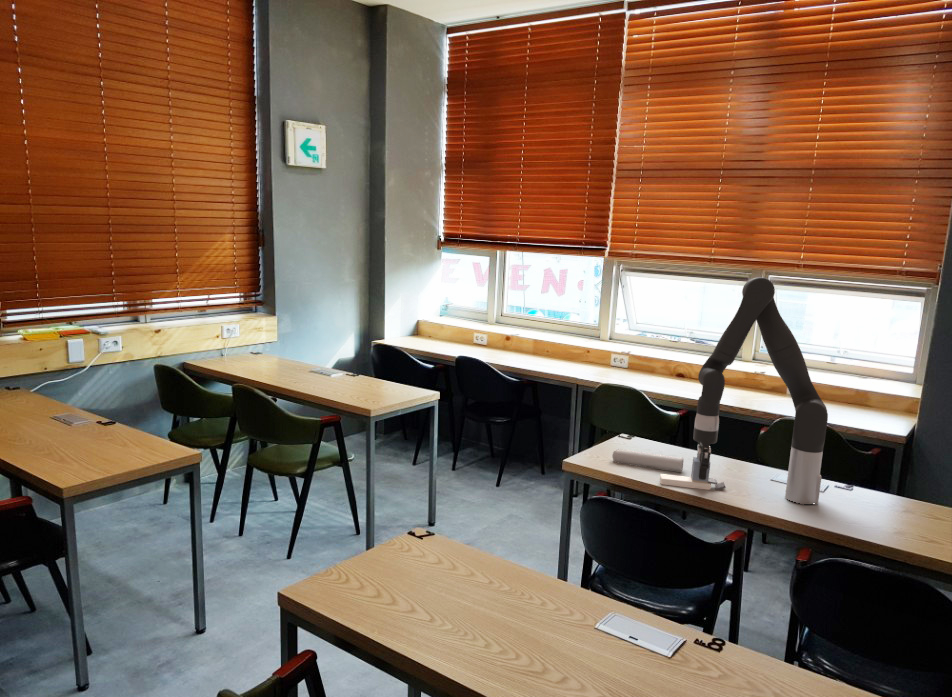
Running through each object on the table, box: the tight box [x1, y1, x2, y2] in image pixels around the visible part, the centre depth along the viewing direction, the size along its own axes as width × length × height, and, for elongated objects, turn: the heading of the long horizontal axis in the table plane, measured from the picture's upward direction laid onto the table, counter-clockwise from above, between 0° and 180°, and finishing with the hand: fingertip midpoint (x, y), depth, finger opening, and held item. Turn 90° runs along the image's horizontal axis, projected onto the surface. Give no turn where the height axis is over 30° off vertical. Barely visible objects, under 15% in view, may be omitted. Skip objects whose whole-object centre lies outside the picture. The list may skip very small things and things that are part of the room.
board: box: [659, 473, 712, 491], centre depth 240 cm, size 16×5×2 cm, turn 78°
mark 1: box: [708, 477, 718, 485], centre depth 238 cm, size 3×4×1 cm
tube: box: [612, 448, 684, 473], centre depth 258 cm, size 5×5×25 cm
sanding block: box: [690, 456, 711, 484], centre depth 238 cm, size 5×5×7 cm
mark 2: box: [714, 481, 727, 491], centre depth 238 cm, size 3×4×1 cm
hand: (701, 476), depth 238 cm, fingers closed on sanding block, 5 cm apart
